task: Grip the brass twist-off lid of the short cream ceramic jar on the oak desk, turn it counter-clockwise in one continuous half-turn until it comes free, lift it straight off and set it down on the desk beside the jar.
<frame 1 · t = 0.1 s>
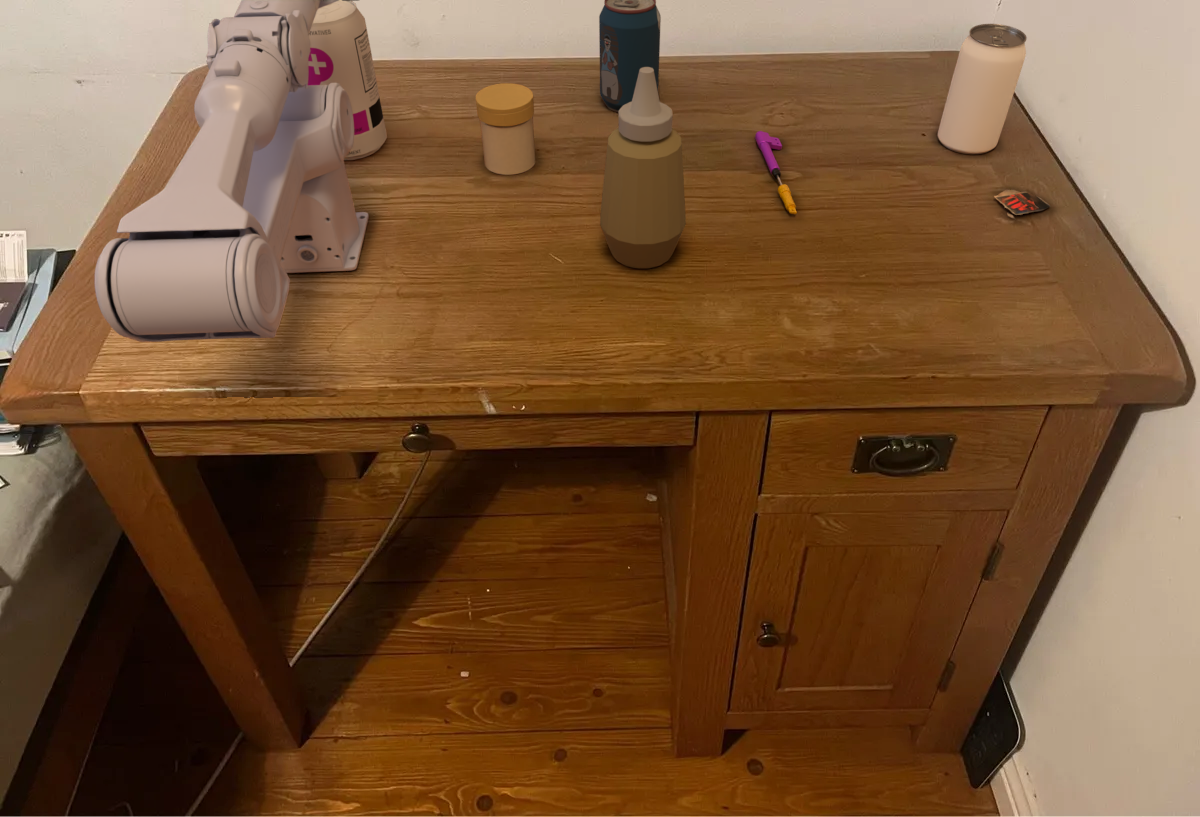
can: (965, 143, 102), on the table
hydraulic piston: (781, 177, 98), on the table
soda can: (628, 104, 110), on the table
lid: (504, 100, 95), point 7 cm above the table, screwed on, not yet turned
supplement can: (351, 146, 103), on the table
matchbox: (1018, 205, 93), on the table
squeeze bottle: (641, 254, 88), on the table
jar: (510, 161, 100), on the table
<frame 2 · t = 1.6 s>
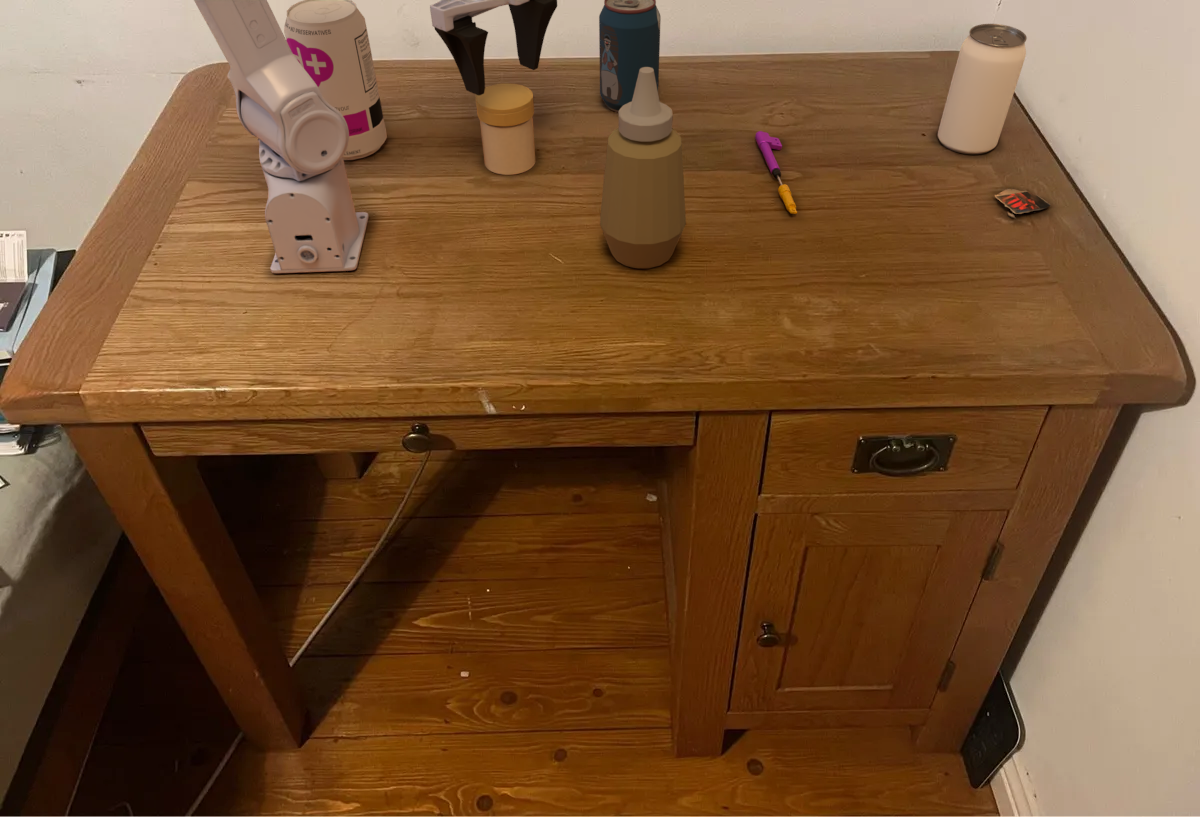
hand: (502, 78, 94), 9 cm above the table, tool pointing down, fingers open, 7 cm apart
nothing on the table moved.
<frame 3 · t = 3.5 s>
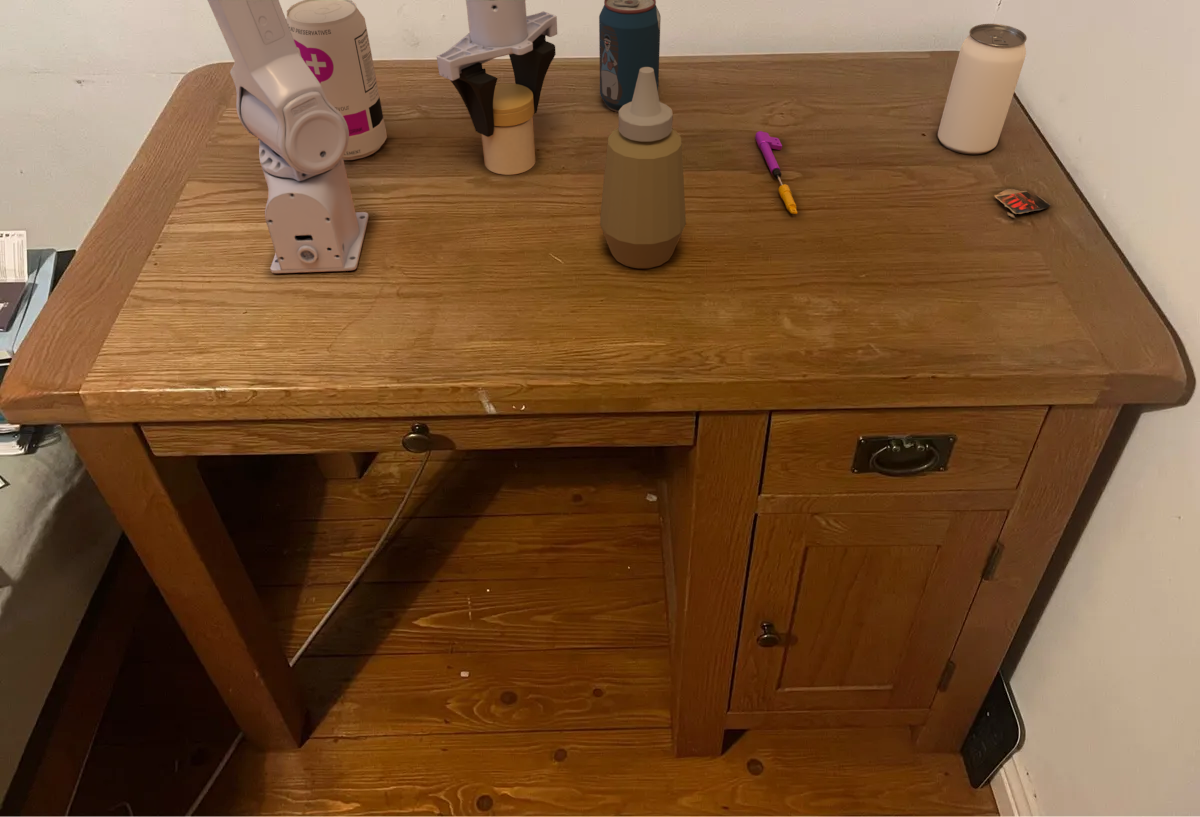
hand: (506, 121, 97), 5 cm above the table, tool pointing down, fingers closed on lid, 6 cm apart
lid: (504, 100, 95), point 7 cm above the table, screwed on, not yet turned, touching gripper
everything else where it was.
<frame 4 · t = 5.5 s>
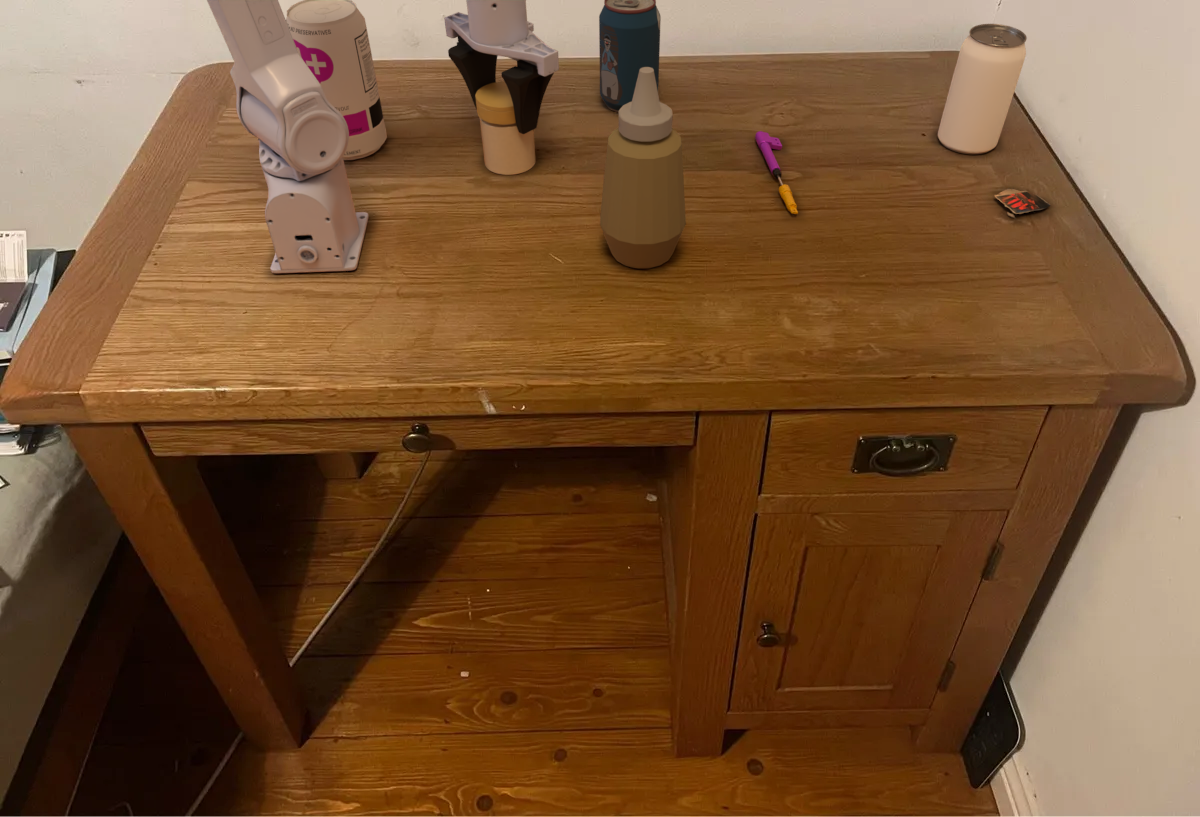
hand: (507, 120, 97), 5 cm above the table, tool pointing down, fingers closed on lid, 6 cm apart
lid: (504, 98, 95), point 7 cm above the table, turned 89° so far, risen 0.2 cm, still on its thread, touching gripper
everything else where it was.
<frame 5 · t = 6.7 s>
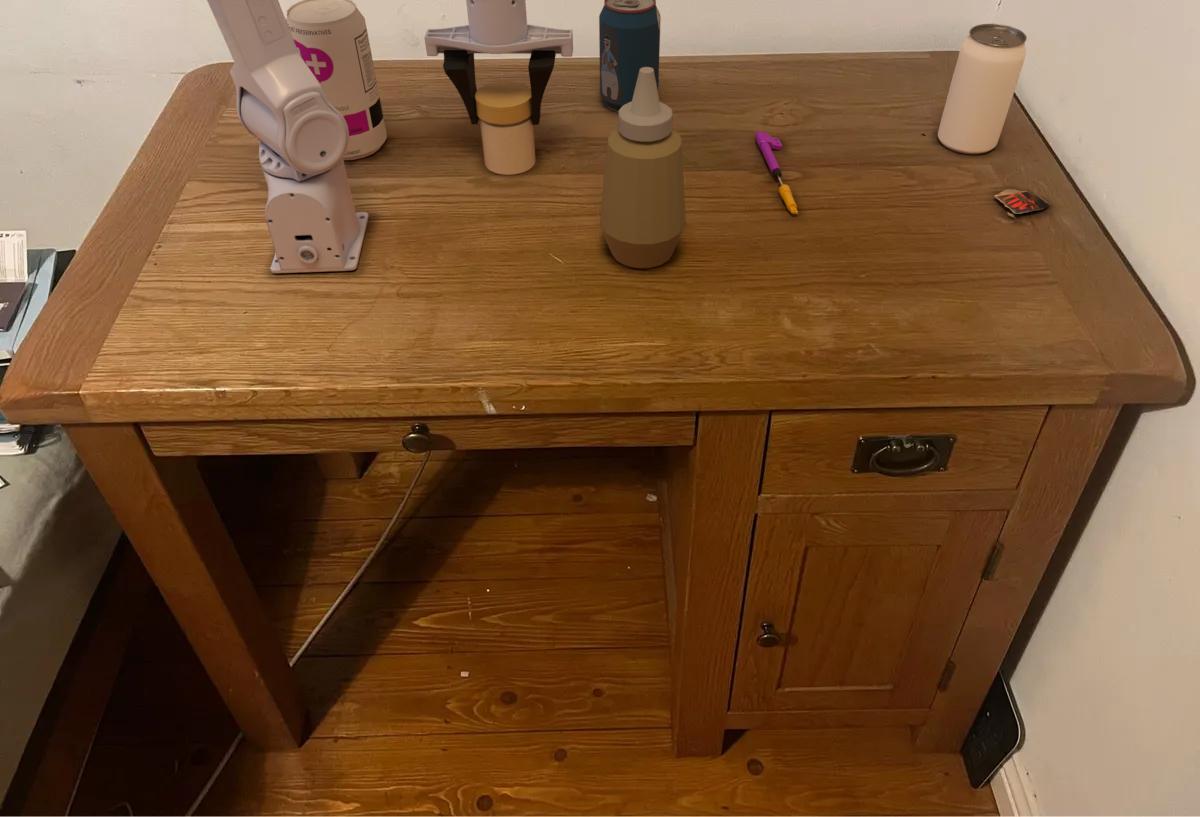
hand: (506, 120, 97), 5 cm above the table, tool pointing down, fingers closed on lid, 6 cm apart
lid: (504, 98, 95), point 7 cm above the table, off its thread, touching gripper
everything else where it was.
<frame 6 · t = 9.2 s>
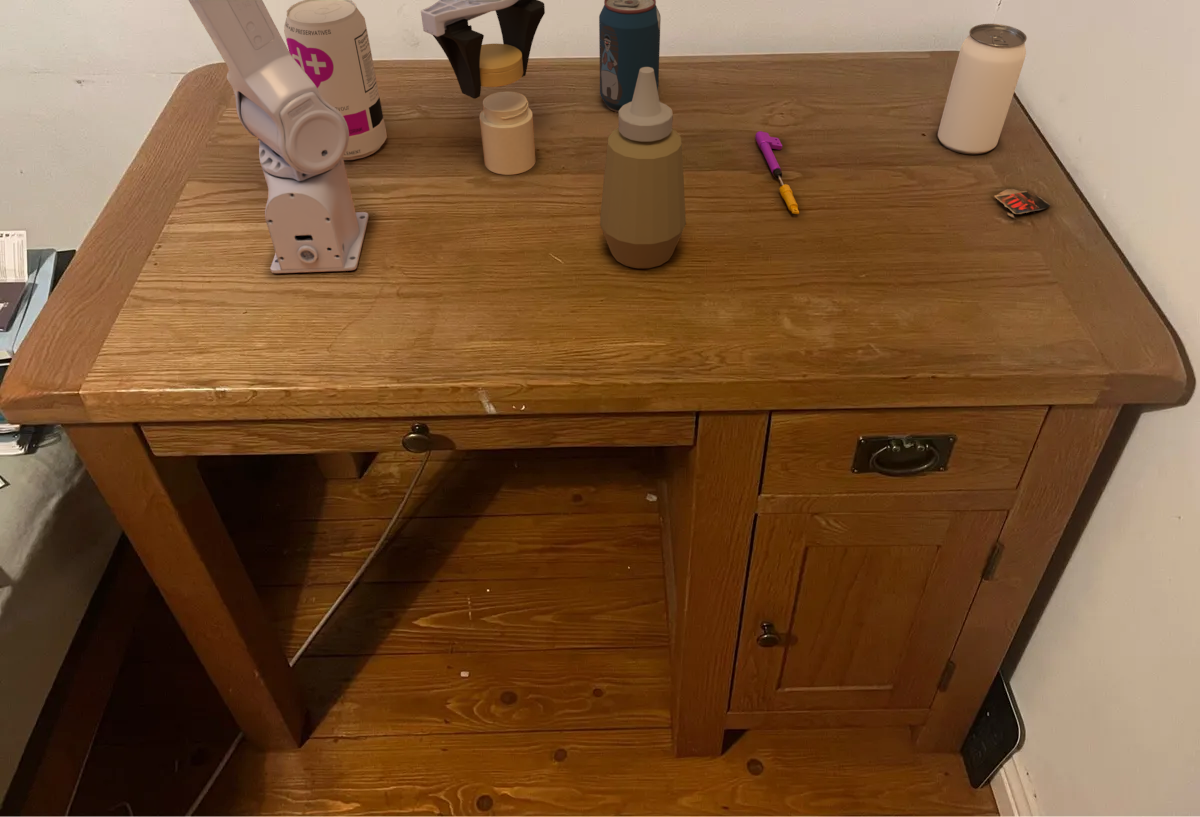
hand: (494, 83, 93), 9 cm above the table, tool pointing down, fingers closed on lid, 6 cm apart
lid: (492, 60, 91), point 12 cm above the table, off its thread, touching gripper
everything else where it was.
when the fingers open (0 cm above the table, at t = 14.2 s): lid drops 1 cm, point 1 cm above the table.
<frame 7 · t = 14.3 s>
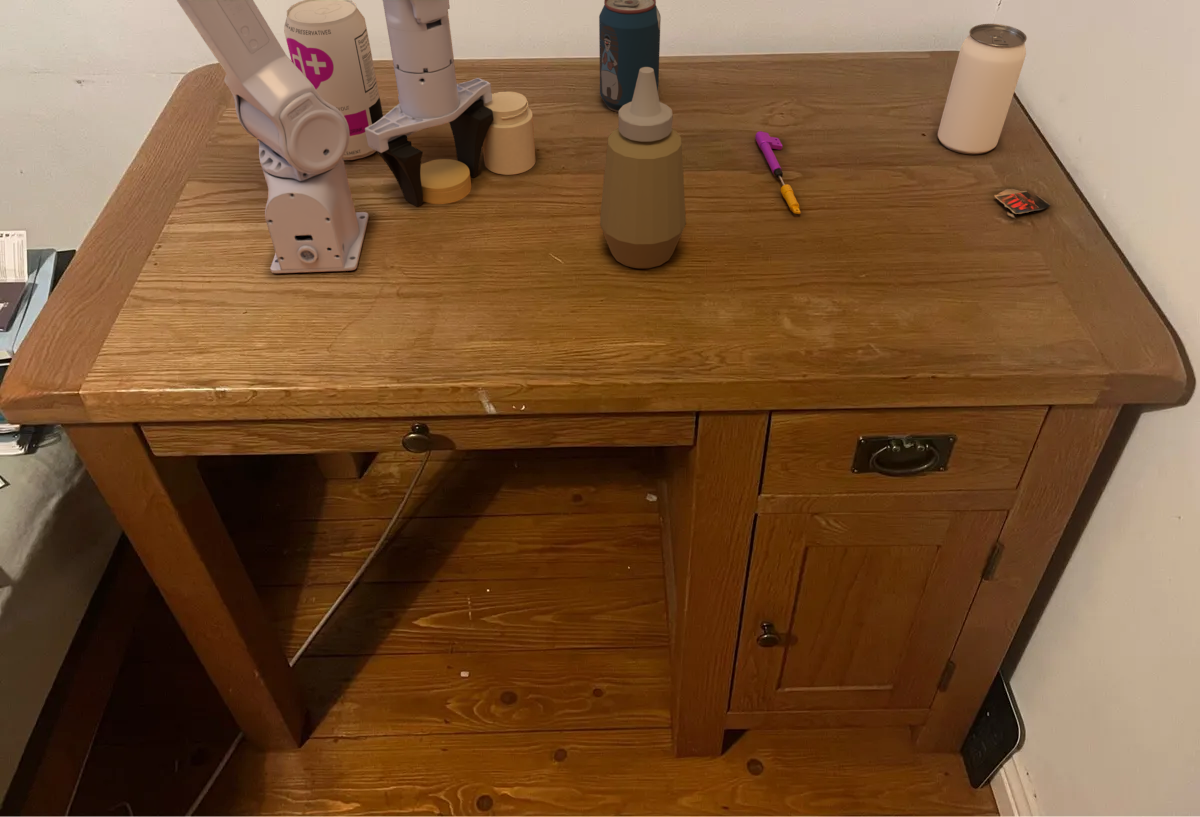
hand: (442, 187, 96), 0 cm above the table, tool pointing down, fingers open, 7 cm apart
lid: (441, 177, 95), point 1 cm above the table, off its thread
jar: (510, 161, 100), on the table, touching gripper
everything else where it was.
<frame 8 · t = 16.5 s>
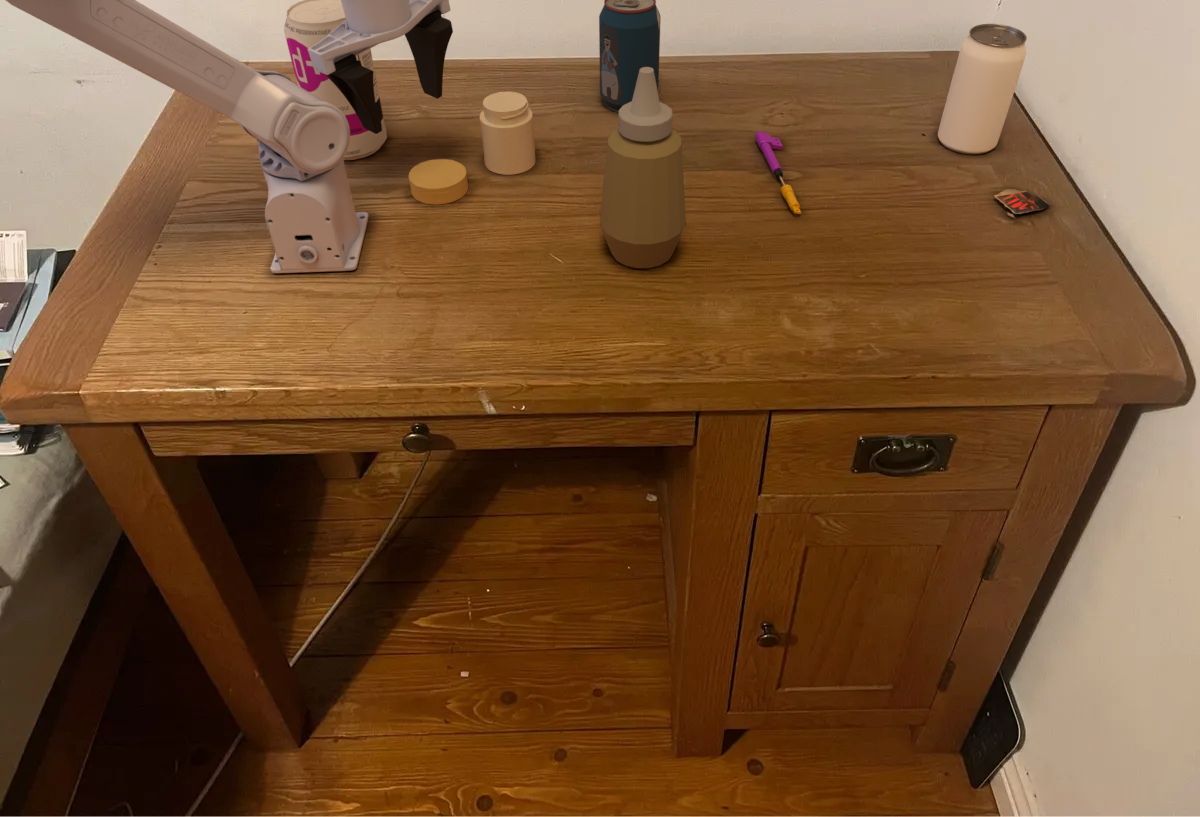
hand: (403, 111, 88), 9 cm above the table, tool pointing down, fingers open, 7 cm apart
jar: (510, 161, 100), on the table
everything else where it was.
at the end: lid point 1.4 cm above the table; lid moved 10.6 cm from its start; the gripper is holding nothing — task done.
